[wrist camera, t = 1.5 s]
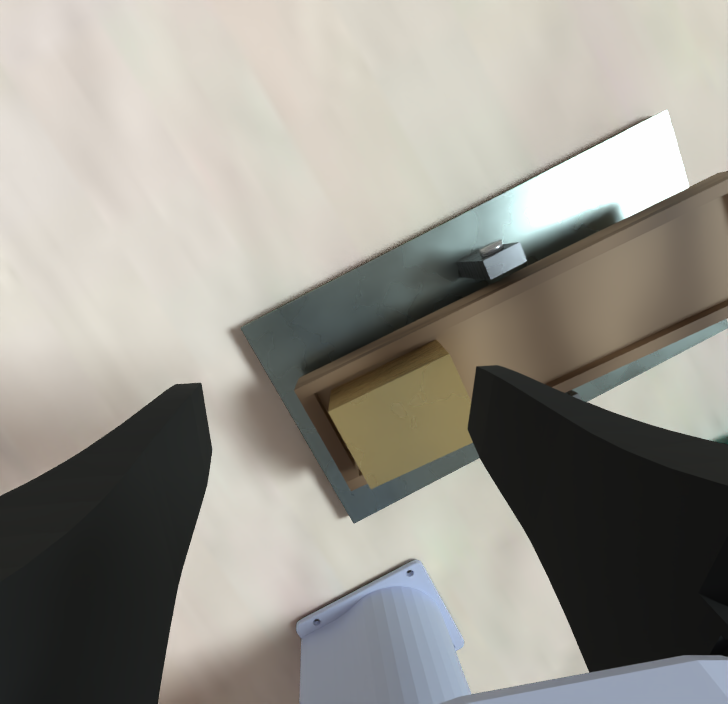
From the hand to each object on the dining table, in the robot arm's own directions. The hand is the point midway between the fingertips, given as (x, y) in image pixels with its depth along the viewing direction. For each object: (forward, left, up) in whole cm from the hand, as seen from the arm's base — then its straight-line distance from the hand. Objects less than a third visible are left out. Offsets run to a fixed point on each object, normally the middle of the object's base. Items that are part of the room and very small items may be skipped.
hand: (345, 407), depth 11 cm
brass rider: (+2, -5, -10) cm, 11 cm away
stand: (+9, -5, -14) cm, 18 cm away
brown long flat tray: (+9, -5, -10) cm, 15 cm away
